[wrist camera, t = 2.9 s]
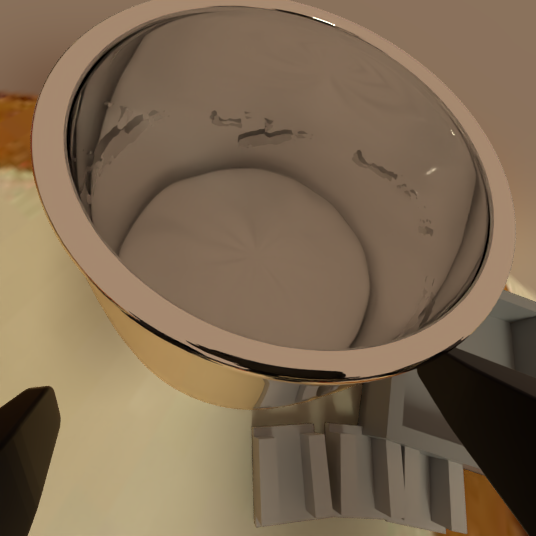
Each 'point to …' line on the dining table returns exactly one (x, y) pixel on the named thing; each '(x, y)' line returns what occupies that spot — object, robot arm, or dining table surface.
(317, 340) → the beer glass
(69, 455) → the dining table surface
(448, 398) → the robot arm
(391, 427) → the holder
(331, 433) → the clip
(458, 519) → the clip
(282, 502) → the clip
